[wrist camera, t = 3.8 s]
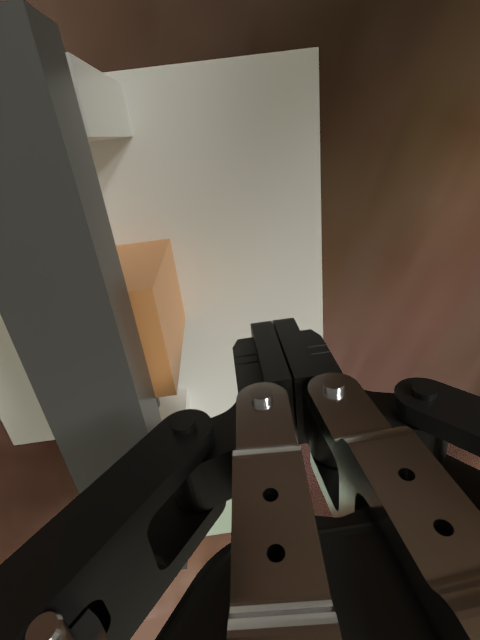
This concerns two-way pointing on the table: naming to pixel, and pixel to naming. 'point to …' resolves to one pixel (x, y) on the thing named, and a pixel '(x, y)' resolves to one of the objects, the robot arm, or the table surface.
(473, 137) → the table surface
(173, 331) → the orange block
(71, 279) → the strap
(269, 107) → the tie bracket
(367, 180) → the table surface
